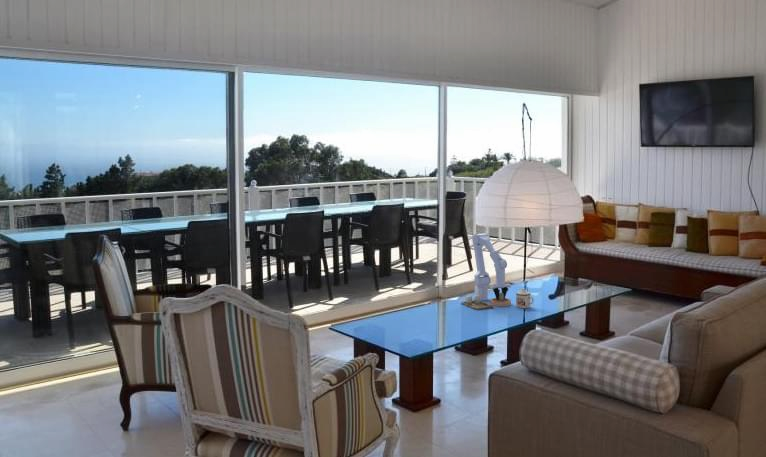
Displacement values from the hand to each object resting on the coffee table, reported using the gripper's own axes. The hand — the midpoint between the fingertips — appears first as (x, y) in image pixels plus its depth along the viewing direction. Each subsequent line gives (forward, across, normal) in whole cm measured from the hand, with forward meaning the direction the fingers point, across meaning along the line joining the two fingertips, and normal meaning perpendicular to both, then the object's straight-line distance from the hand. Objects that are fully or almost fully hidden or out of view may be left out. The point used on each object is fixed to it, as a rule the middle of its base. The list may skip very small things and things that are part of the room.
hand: (500, 299), depth 456 cm
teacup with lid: (+4, +10, -13) cm, 17 cm away
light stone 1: (+3, -19, +7) cm, 20 cm away
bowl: (+4, 0, 0) cm, 4 cm away
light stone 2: (+3, -13, +7) cm, 15 cm away
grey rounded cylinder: (+2, 0, 0) cm, 2 cm away
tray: (+4, -16, +2) cm, 17 cm away
